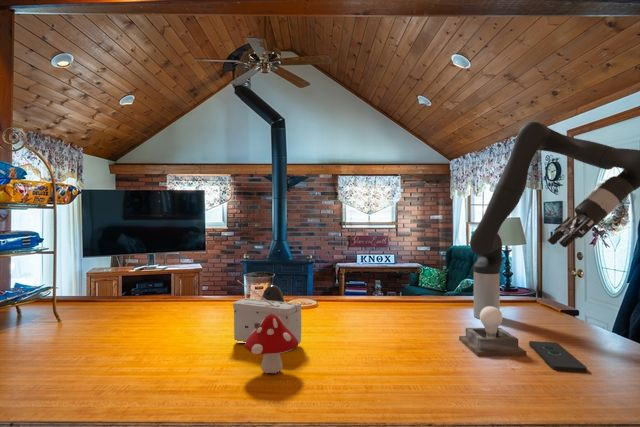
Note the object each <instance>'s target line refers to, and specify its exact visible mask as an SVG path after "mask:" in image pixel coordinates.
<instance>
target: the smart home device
mask: <svg viewBox="0 0 640 427" xmlns="http://www.w3.org/2000/svg"><path fill="white" fill-rule="evenodd" d="M528 345H529V347H530V348H531V349H532V350H533V351H534V352H535V353H536V354H537V355H538V356H539V357H540V358H541V360H542V361H544V363H545V364H546V365H547V366H549V368H551V369H552V370H553V371H556V372H570V373H573V372H574V373H583V374H584V373H588V372H587V371H588V370H587V369H588V368H587V366H586V365H585V364H584V363H582V362H581V361H580V360H579V359H578V358H576V356H574V355H572V354H571V353H570V352H569V351H568V350H566V348H564V347H563V346H562V345H560V343H558V342H556V341H555V342H554V341H551V342H550V341H538V340H537V341H536V340H534V341H533V340H529V342H528Z"/></svg>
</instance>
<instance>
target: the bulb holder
mask: <svg viewBox="0 0 640 427" xmlns="http://www.w3.org/2000/svg"><path fill="white" fill-rule="evenodd" d="M486 335H487V334H486V331H485V327H465V335H458V336H459V337H458V340H459V341H460V342H461V343H462V344H463V345H464V346H465V347H466V348H468V349H469V350H470V351H471V352H472V353H473V354H474V355H475V356H476V357H497V356H498V357H507V356H509V357H510V356H513V357H517V356H518V357H519V356H520V357H521V356H522V357H523V356H524V357H525V356H527V350H525V349H524V348H522V347H520V346H519V338H517V337H516V336H514V335H512V334H511V333H510V332H508V331H507V330H504V329H503V328H501V327H498V329H497V333H496V338H486Z"/></svg>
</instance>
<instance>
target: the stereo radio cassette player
mask: <svg viewBox="0 0 640 427" xmlns="http://www.w3.org/2000/svg"><path fill="white" fill-rule="evenodd" d="M237 282H238V283H240V284H241V285H243V286H244V287H245V288H247V289H248V290H249V291H251V292H252V293H253V294H255V295H256V296H257V297H259V299H257V298H249V297H248V298H247V297H245V298H242V299H239V300H236V301H234V302H233V304H232V308H233V336H234V337H233V338H234V341H235V340H237V341H243V342H246V341H247V339H248V338H249V336H250V335H251V333H252V332H253V331H254V330H255V329H257V328H258V327H259V326H260V324H261V322H262V321H263V319H264V318H265V317H266V316H268V315H270V314H273V315H276V316H278V317H280V318H281V320H282V322H283V325H284V326H285V327H286V328H287V329H288V330H289V331H290V332H291V333H292V334H293V335H294V336H295V337H296V338H297V340H298V345H300V344H301V343H302V307H301V304H300V303H297V302H294V303H293V302H286V301H285V302H278V301H269V300H266V299H265V298H263V297H262V296H261V295H260V294H259V293H257V292H256V291H255V290H254V289H252V288H250V287H248V286H247V285H245V284H243V283H242V282H241V281H240V280H239V279H237ZM261 298H262V299H263V300H261Z"/></svg>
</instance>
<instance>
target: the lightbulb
mask: <svg viewBox="0 0 640 427" xmlns="http://www.w3.org/2000/svg"><path fill="white" fill-rule="evenodd" d="M503 319H504V317H503V314H502V312H501V310H499V309H497V308H496V307H493V306H487V307H485V308H483V309H482V310H481V312H480V319H479V320H480V322H481V323H482V325H483V328H485V331H486V334H487V335H486V338H496V333H497V329H498V328H500V326H501V325H502V323H503Z"/></svg>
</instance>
